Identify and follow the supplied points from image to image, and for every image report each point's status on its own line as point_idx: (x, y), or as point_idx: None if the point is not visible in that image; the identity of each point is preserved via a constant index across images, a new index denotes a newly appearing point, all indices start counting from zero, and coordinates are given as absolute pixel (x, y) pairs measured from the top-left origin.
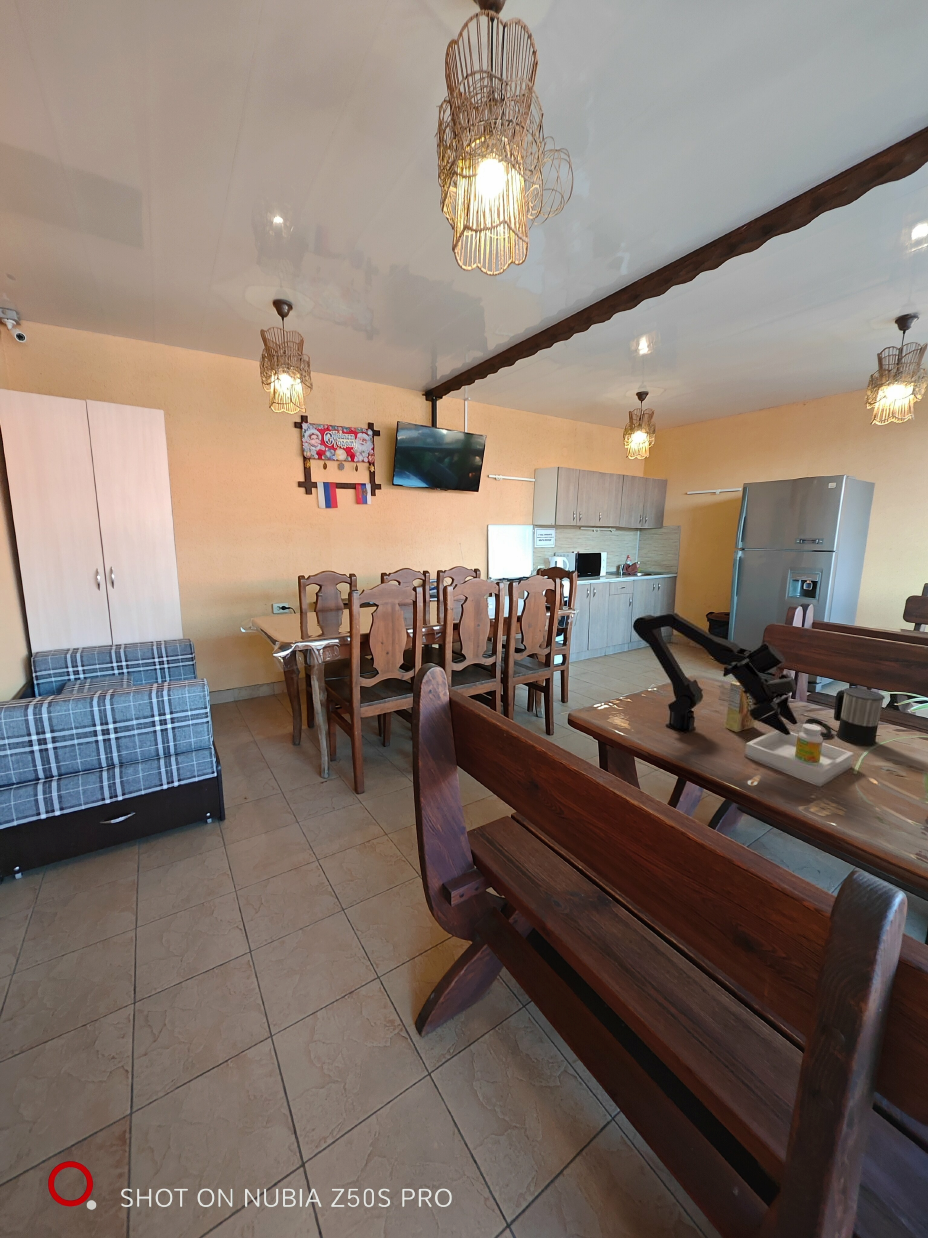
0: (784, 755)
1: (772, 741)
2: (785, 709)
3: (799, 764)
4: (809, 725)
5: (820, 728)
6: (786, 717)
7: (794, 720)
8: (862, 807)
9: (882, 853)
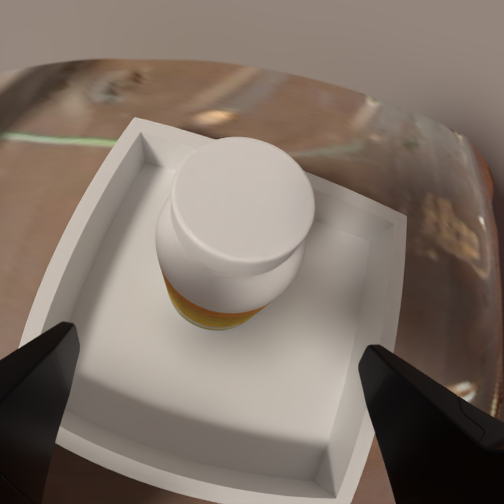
0: (228, 373)
1: (111, 435)
2: (2, 446)
3: (400, 288)
4: (221, 208)
5: (240, 139)
6: (54, 415)
7: (63, 346)
8: (393, 161)
9: (483, 169)
